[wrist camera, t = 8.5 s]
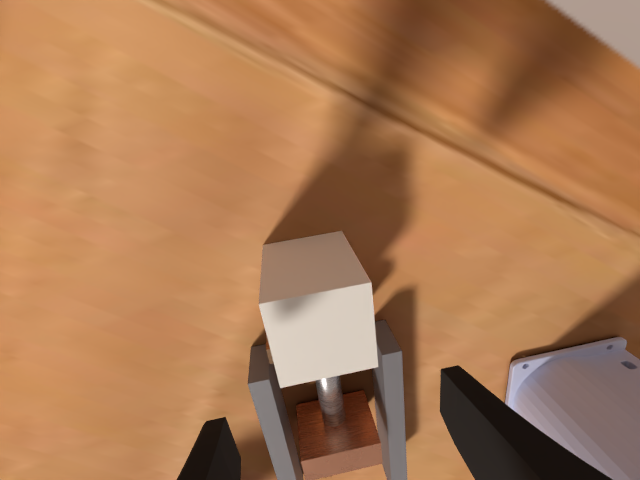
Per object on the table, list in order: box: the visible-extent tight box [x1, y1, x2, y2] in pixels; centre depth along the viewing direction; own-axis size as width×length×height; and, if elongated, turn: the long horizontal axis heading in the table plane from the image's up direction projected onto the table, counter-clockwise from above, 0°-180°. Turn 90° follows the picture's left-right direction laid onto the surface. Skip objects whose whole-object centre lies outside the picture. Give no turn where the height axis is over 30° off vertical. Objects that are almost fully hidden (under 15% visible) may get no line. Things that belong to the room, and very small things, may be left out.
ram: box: [266, 327, 383, 480], centre depth 20 cm, size 6×10×4 cm, turn 8°
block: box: [259, 231, 378, 388], centre depth 16 cm, size 5×5×6 cm
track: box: [248, 320, 407, 480], centre depth 22 cm, size 9×14×3 cm, turn 8°
